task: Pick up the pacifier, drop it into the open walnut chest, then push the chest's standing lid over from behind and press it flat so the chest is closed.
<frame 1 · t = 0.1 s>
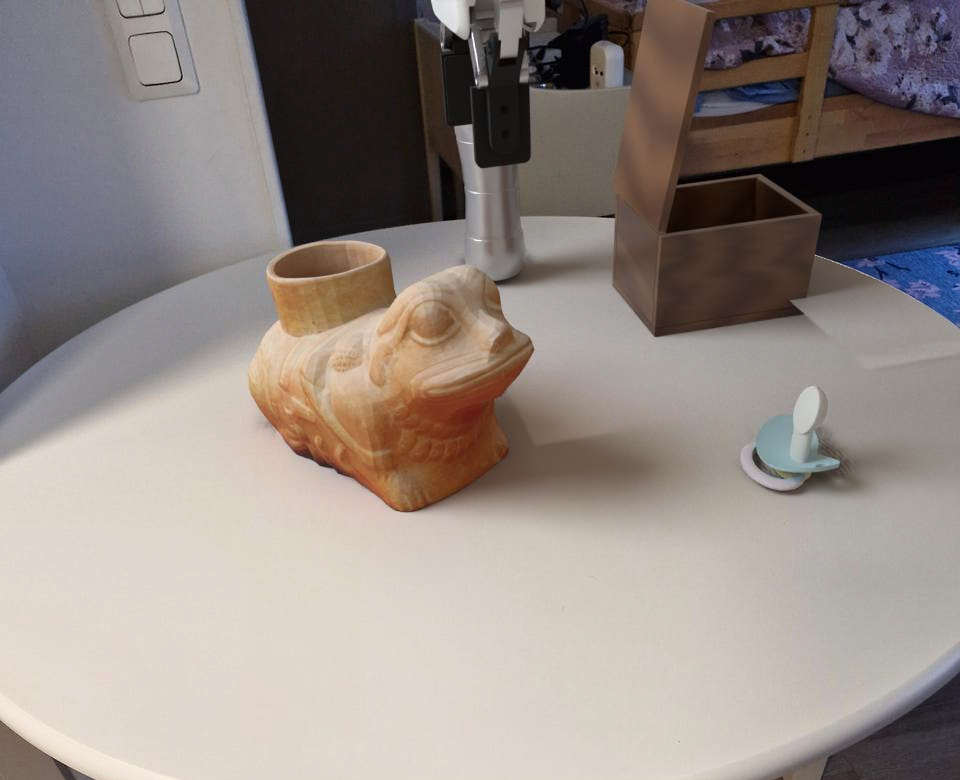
hand: (485, 142, 55), 21 cm above the table, tool pointing down, fingers open, 9 cm apart
pacifier: (781, 471, 65), on the table
ceramic vessel: (394, 447, 71), on the table
lid: (657, 111, 75), point 17 cm above the table, hinge at 80.0°
silver bottle: (495, 278, 95), on the table
chest: (703, 299, 87), on the table
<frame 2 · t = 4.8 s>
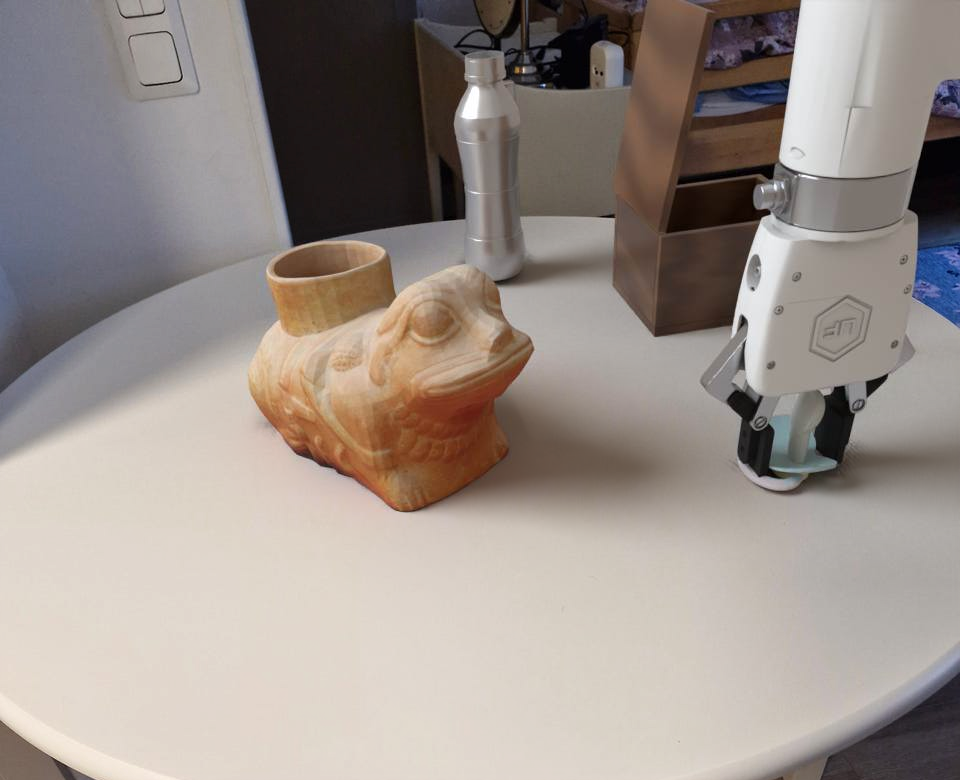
hand: (790, 459, 64), 1 cm above the table, tool pointing down, fingers closed on pacifier, 4 cm apart
pacifier: (779, 472, 65), on the table, touching gripper
everything else where it was.
when the fingers open (7 cm above the table, at t = 13.7 s): pacifier drops 6 cm, resting on chest.
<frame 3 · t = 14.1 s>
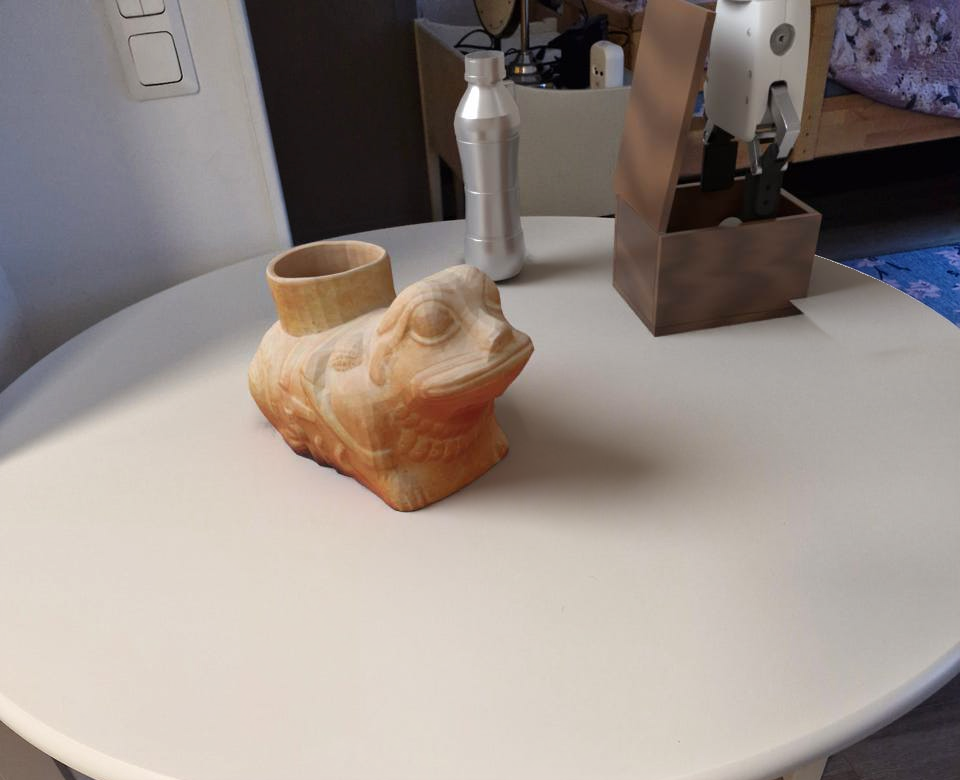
hand: (736, 204, 81), 8 cm above the table, tool pointing down, fingers open, 8 cm apart
pacifier: (728, 291, 87), point 1 cm above the table, touching chest
everything else where it was.
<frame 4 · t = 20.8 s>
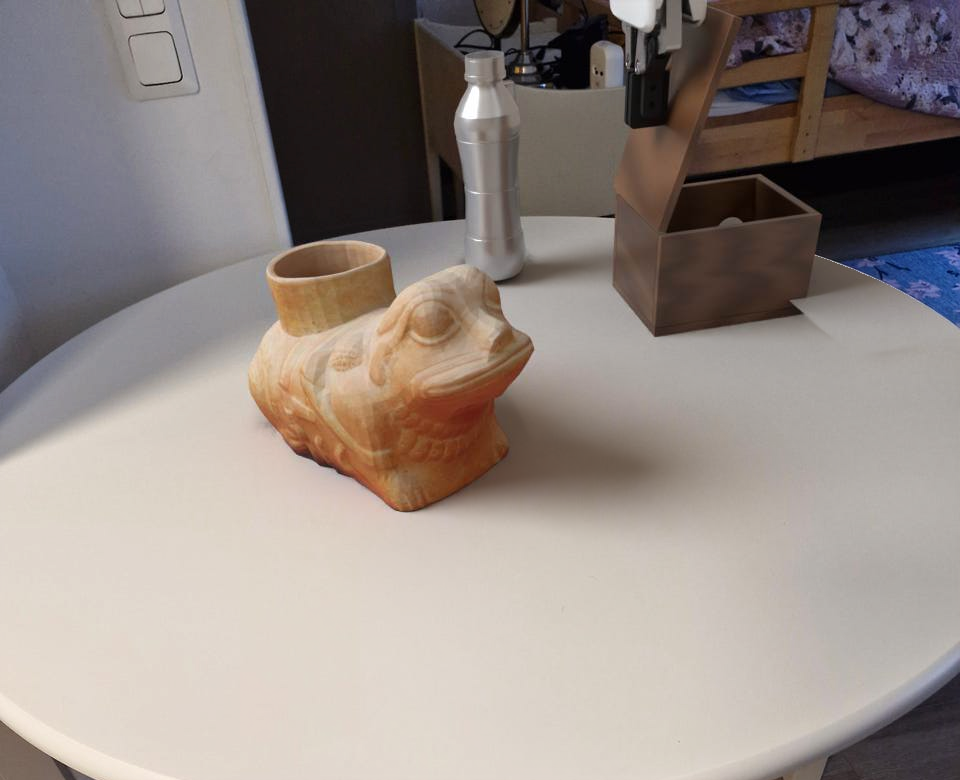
hand: (645, 124, 75), 16 cm above the table, tool pointing down, fingers closed
lid: (669, 113, 75), point 17 cm above the table, hinge at 71.9°, touching gripper
everything else where it was.
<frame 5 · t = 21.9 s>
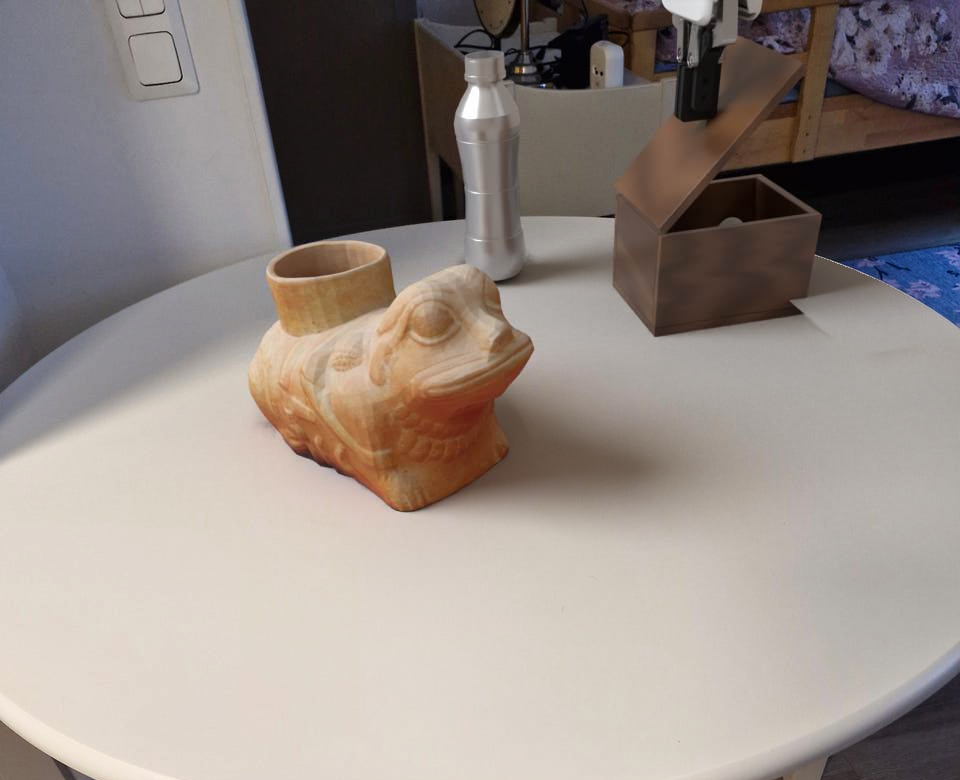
hand: (694, 117, 76), 16 cm above the table, tool pointing down, fingers closed
lid: (701, 133, 77), point 15 cm above the table, hinge at 45.3°, touching gripper
everything else where it was.
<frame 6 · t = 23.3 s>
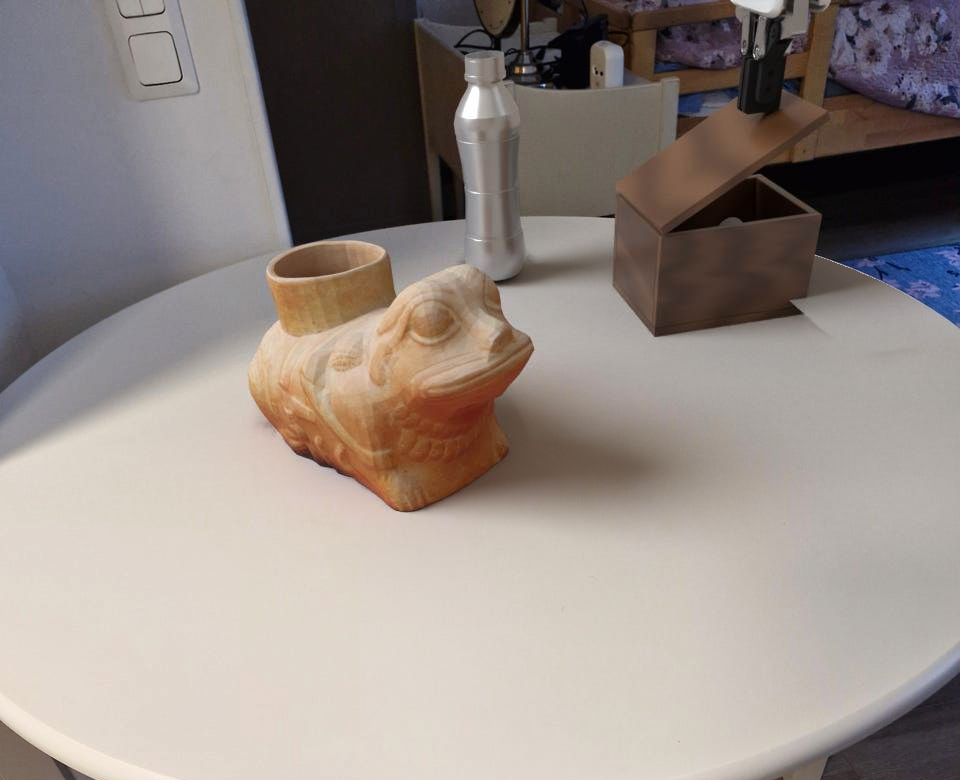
hand: (757, 109, 76), 16 cm above the table, tool pointing down, fingers closed
lid: (714, 154, 78), point 13 cm above the table, hinge at 28.2°, touching gripper
everything else where it was.
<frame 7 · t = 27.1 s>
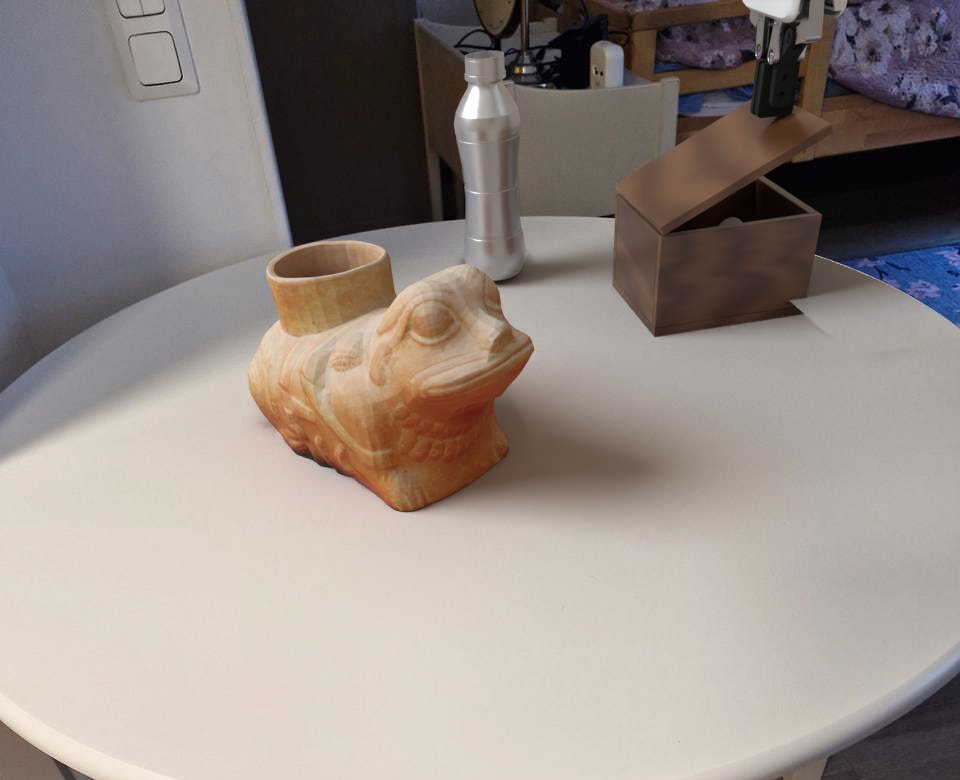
hand: (770, 113, 77), 16 cm above the table, tool pointing down, fingers closed
lid: (715, 160, 79), point 12 cm above the table, hinge at 24.1°, touching gripper
everything else where it was.
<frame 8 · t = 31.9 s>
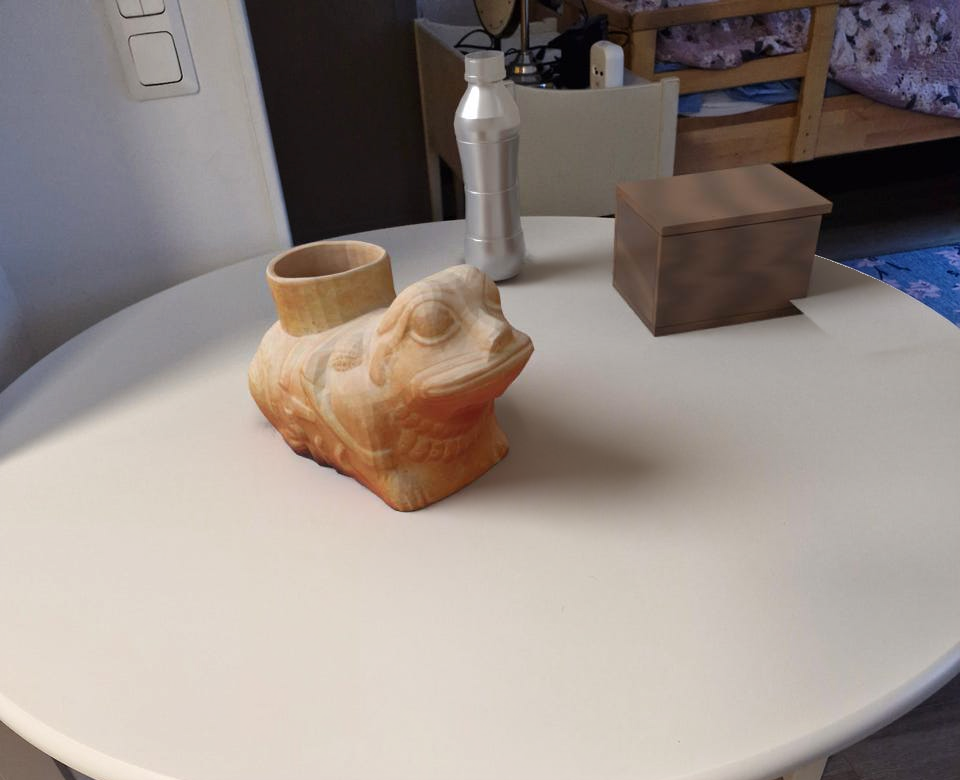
lid: (718, 197, 81), point 9 cm above the table, hinge at 0.0°
everything else where it was.
at the end: lid at +0° (first picture: +80°); pacifier inside the target area in the chest (2.3 cm from its centre), point 0.6 cm above the chest's base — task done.
